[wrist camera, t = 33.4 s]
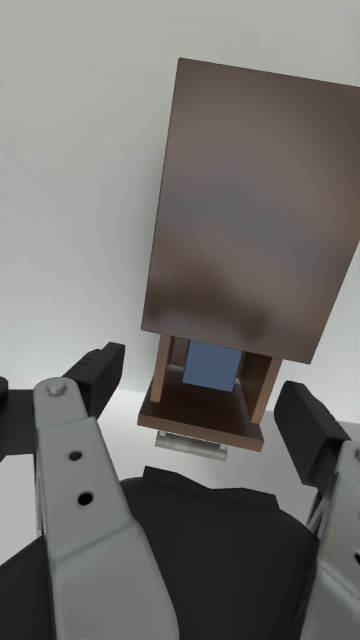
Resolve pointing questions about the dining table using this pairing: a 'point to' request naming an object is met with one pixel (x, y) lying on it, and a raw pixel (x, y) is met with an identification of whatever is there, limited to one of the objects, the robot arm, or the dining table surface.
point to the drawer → (207, 404)
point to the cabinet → (254, 209)
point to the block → (211, 365)
